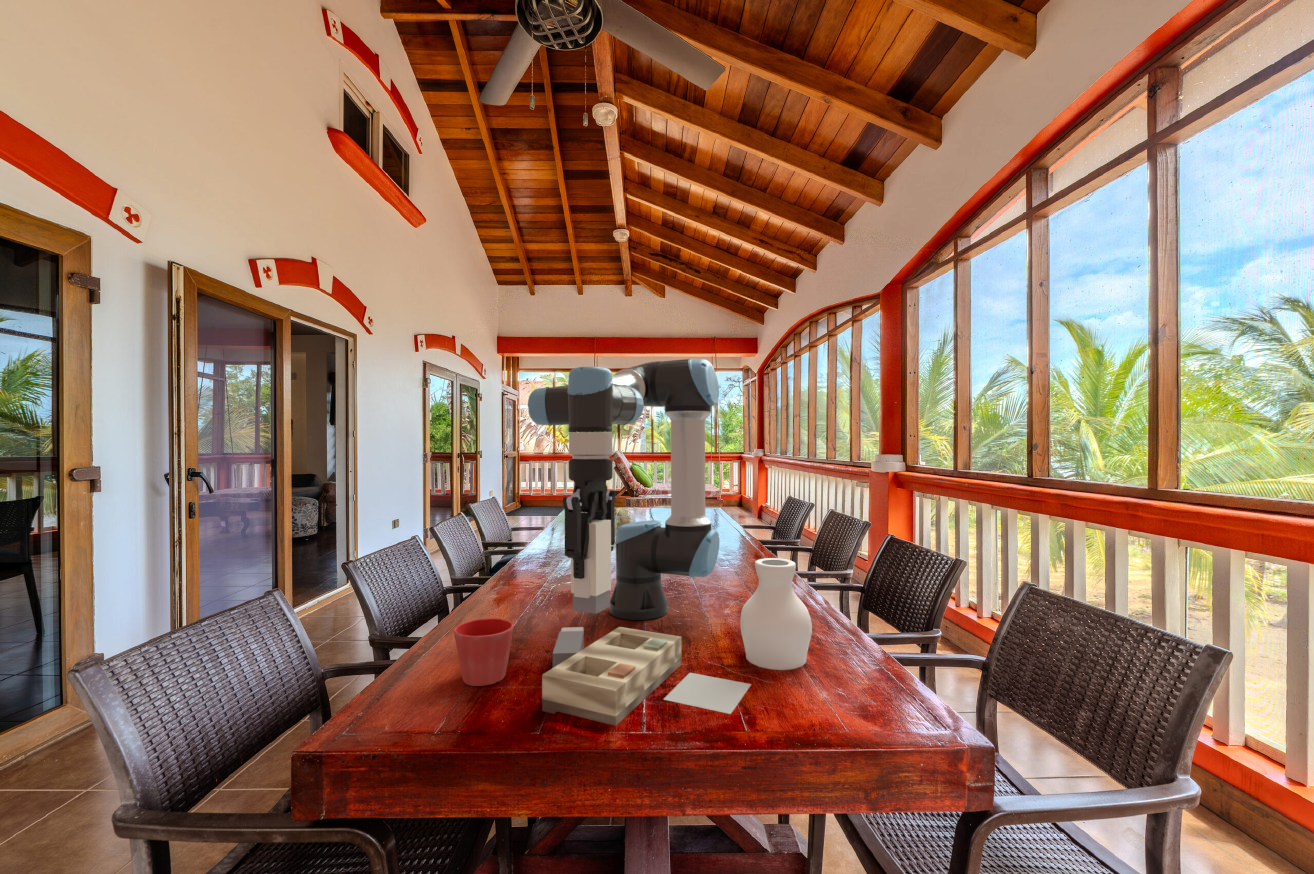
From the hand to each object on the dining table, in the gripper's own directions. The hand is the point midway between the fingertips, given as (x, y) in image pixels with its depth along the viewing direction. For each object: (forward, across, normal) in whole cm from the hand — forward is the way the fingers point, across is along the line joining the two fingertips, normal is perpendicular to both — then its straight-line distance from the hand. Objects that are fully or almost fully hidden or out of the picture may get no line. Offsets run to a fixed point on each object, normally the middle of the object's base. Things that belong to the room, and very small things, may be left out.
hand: (591, 592), depth 97 cm
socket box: (+19, -6, +2) cm, 20 cm away
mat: (+19, -10, +18) cm, 28 cm away
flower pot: (+19, 0, -24) cm, 30 cm away
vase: (+19, -30, +24) cm, 43 cm away
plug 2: (+3, 0, 0) cm, 3 cm away
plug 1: (+19, -12, -13) cm, 26 cm away
